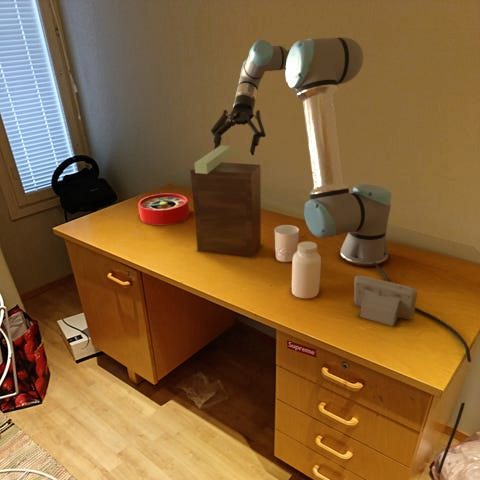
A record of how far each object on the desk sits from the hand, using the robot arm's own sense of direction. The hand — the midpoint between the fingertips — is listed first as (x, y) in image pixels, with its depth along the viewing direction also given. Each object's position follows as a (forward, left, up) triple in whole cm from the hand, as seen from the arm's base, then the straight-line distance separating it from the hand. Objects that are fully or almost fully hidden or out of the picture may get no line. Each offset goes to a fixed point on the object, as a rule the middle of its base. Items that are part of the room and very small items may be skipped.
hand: (233, 152), depth 161 cm
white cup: (-34, -10, -27) cm, 45 cm away
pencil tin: (-17, +10, +1) cm, 19 cm away
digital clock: (-73, -25, -27) cm, 82 cm away
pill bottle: (-57, -9, -27) cm, 64 cm away
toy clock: (+16, +27, -27) cm, 41 cm away
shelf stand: (-22, +7, -27) cm, 35 cm away
